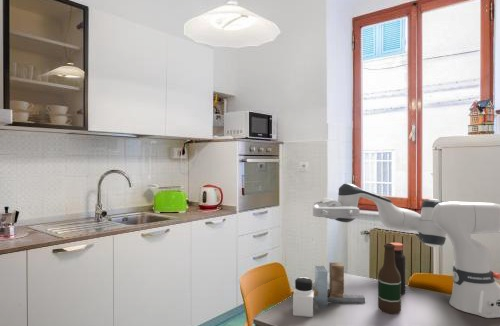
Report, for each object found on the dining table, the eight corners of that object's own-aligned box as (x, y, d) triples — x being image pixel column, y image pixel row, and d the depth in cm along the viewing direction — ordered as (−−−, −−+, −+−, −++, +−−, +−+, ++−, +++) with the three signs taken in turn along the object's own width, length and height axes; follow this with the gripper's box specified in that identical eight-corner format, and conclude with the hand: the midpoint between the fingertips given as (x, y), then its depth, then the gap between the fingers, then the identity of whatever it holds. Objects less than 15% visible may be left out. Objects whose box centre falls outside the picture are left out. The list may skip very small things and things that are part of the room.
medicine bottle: (313, 317, 117) (313, 283, 117) (292, 315, 118) (292, 281, 118) (313, 308, 124) (313, 276, 124) (294, 307, 125) (294, 275, 125)
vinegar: (384, 289, 142) (384, 242, 142) (398, 288, 144) (398, 241, 144) (394, 295, 136) (394, 246, 136) (409, 294, 138) (409, 245, 137)
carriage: (340, 293, 133) (340, 262, 133) (343, 297, 128) (343, 266, 128) (321, 292, 133) (321, 262, 133) (323, 297, 129) (323, 265, 129)
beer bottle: (390, 316, 118) (390, 247, 117) (373, 308, 124) (373, 243, 124) (406, 312, 121) (405, 245, 121) (388, 304, 128) (388, 240, 128)
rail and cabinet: (362, 299, 132) (362, 266, 132) (368, 306, 125) (367, 272, 125) (314, 298, 133) (314, 265, 133) (318, 306, 126) (318, 271, 126)
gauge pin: (321, 294, 132) (321, 290, 132) (322, 295, 130) (322, 291, 130) (309, 294, 132) (309, 290, 132) (309, 295, 130) (309, 291, 130)
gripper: (354, 216, 156) (364, 221, 142) (310, 216, 157) (315, 221, 143) (354, 202, 156) (364, 206, 142) (310, 202, 157) (315, 206, 143)
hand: (339, 214), depth 143 cm, fingers open, 8 cm apart
